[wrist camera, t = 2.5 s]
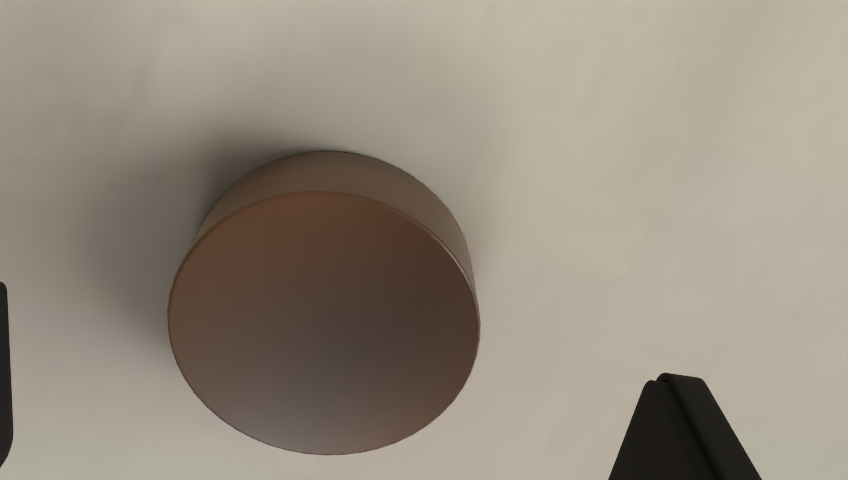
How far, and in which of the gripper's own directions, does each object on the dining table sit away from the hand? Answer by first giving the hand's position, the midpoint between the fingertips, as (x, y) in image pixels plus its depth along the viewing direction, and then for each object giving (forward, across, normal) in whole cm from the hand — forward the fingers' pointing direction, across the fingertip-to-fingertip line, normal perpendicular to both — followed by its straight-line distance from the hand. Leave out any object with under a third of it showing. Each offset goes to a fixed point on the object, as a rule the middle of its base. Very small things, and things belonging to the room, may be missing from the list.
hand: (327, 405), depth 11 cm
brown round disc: (+3, 0, 0) cm, 3 cm away
